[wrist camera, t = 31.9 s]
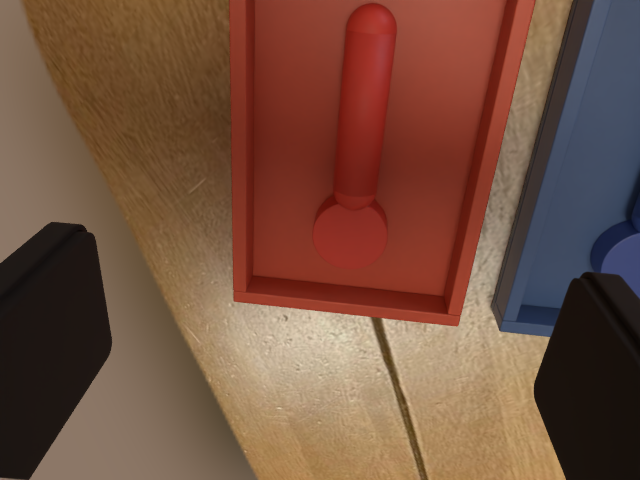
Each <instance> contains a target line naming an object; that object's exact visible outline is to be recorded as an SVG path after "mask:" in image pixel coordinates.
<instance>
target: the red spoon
mask: <svg viewBox="0 0 640 480" xmlns="http://www.w3.org/2000/svg"><path fill="white" fill-rule="evenodd" d="M396 36H397V24H396V20H395V18H394V16H393V14H392V13H391V11H390V10H389V9H388V8H386V7H385V6H383V5H381V4H377V3H368V4H364V5H362V6H360V7H358V8H357V9H356V10H355V11H354V12H353V13H352V14H351V16H350V18H349V20H348V22H347V27H346V36H345V48H344V60H343V72H342V84H341V96H340V108H339V120H338V131H337V143H336V155H335V167H334V179H333V194H334V196H332V197H330V198H329V199H327V200H326V201H325V202H324V203H323V204H322V205H321V207H320V208H319V210H318V212H317V214H316V218H315V222H314V226H313V231H312V239H313V243H314V246H315V249H316V251H317V252H318V254H319V255H320V256H321V257H322V258H323V259H324V260H325V261H326V262H328V263H329V264H331V265H333V266H335V267H338V268H342V269H360V268H363V267H366V266H368V265H370V264H372V263H374V262H375V261H376V260H377V259H378V258H379V257H380V256H381V255H382V254H383V252H384V250H385V248H386V245H387V241H388V228H387V218H386V215H385V212H384V210H383V209H382V207H381V206H380V205H379V204H378V203H377V202H376V201H375V200H374V198H375V196H376V192H377V185H378V178H379V170H380V162H381V154H382V146H383V138H384V130H385V122H386V114H387V107H388V99H389V91H390V83H391V75H392V67H393V59H394V51H395V44H396Z"/></svg>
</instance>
